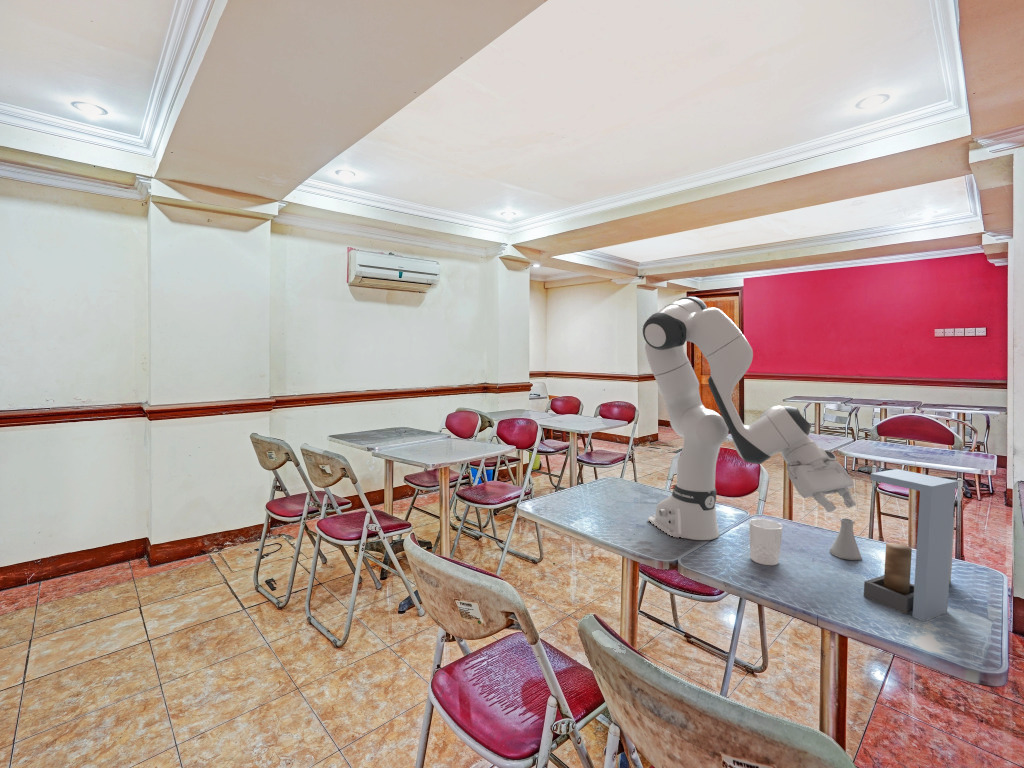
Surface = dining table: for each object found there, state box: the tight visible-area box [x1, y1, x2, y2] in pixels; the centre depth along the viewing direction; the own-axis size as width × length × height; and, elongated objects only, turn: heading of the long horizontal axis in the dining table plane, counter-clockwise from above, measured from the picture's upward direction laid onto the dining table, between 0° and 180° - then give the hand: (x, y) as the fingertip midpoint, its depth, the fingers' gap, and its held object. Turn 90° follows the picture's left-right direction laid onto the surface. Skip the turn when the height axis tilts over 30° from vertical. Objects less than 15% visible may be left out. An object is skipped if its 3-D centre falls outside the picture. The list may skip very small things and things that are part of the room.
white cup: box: [748, 518, 784, 566], centre depth 130 cm, size 8×8×10 cm
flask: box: [829, 517, 863, 561], centre depth 133 cm, size 7×7×10 cm
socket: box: [863, 574, 915, 615], centre depth 109 cm, size 8×8×4 cm
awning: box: [870, 468, 959, 622], centre depth 107 cm, size 12×10×28 cm
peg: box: [883, 542, 913, 595], centre depth 109 cm, size 4×4×12 cm
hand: (842, 508), depth 121 cm, fingers open, 8 cm apart
